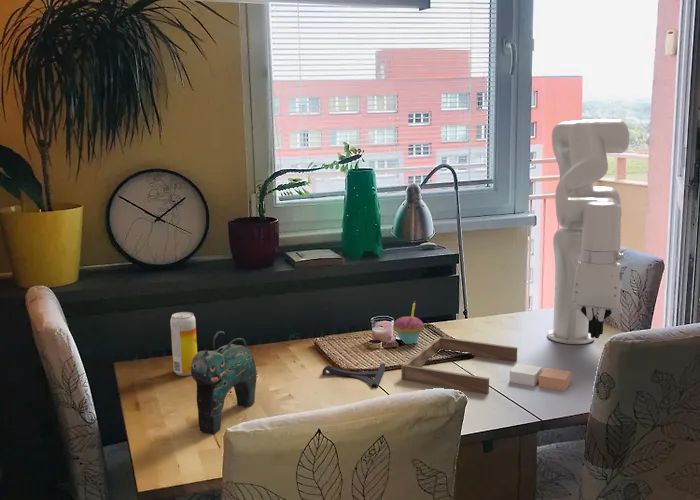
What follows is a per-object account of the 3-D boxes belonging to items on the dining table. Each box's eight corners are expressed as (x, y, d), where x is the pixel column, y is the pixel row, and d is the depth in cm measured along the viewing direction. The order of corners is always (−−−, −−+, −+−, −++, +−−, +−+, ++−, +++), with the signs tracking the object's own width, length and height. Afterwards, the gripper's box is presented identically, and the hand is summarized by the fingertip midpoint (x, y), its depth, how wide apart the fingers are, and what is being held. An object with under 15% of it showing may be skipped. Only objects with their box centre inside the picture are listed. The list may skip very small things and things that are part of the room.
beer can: (203, 369, 191) (199, 312, 188) (188, 378, 186) (184, 319, 183) (183, 366, 194) (180, 310, 191) (168, 374, 188) (164, 316, 185)
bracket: (329, 366, 194) (328, 356, 193) (386, 369, 191) (386, 358, 191) (316, 387, 180) (316, 376, 180) (378, 390, 177) (377, 379, 177)
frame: (438, 348, 204) (438, 336, 203) (517, 360, 194) (517, 347, 193) (401, 379, 182) (401, 365, 182) (487, 394, 172) (487, 379, 172)
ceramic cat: (213, 439, 152) (207, 344, 148) (186, 434, 154) (180, 340, 151) (262, 402, 170) (259, 317, 166) (238, 398, 172) (234, 314, 168)
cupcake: (428, 339, 212) (429, 298, 210) (414, 348, 205) (415, 305, 203) (402, 335, 217) (402, 294, 214) (387, 343, 210) (387, 301, 207)
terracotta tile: (545, 379, 182) (546, 367, 181) (570, 383, 179) (571, 371, 178) (538, 387, 177) (539, 375, 176) (564, 392, 174) (565, 379, 173)
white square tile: (517, 374, 185) (517, 363, 184) (541, 379, 182) (541, 367, 181) (509, 382, 180) (509, 371, 179) (534, 387, 177) (534, 375, 176)
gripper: (636, 256, 167) (632, 336, 171) (568, 252, 174) (565, 328, 177) (632, 262, 161) (627, 345, 164) (561, 257, 168) (558, 336, 171)
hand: (595, 336), depth 171 cm, fingers closed
